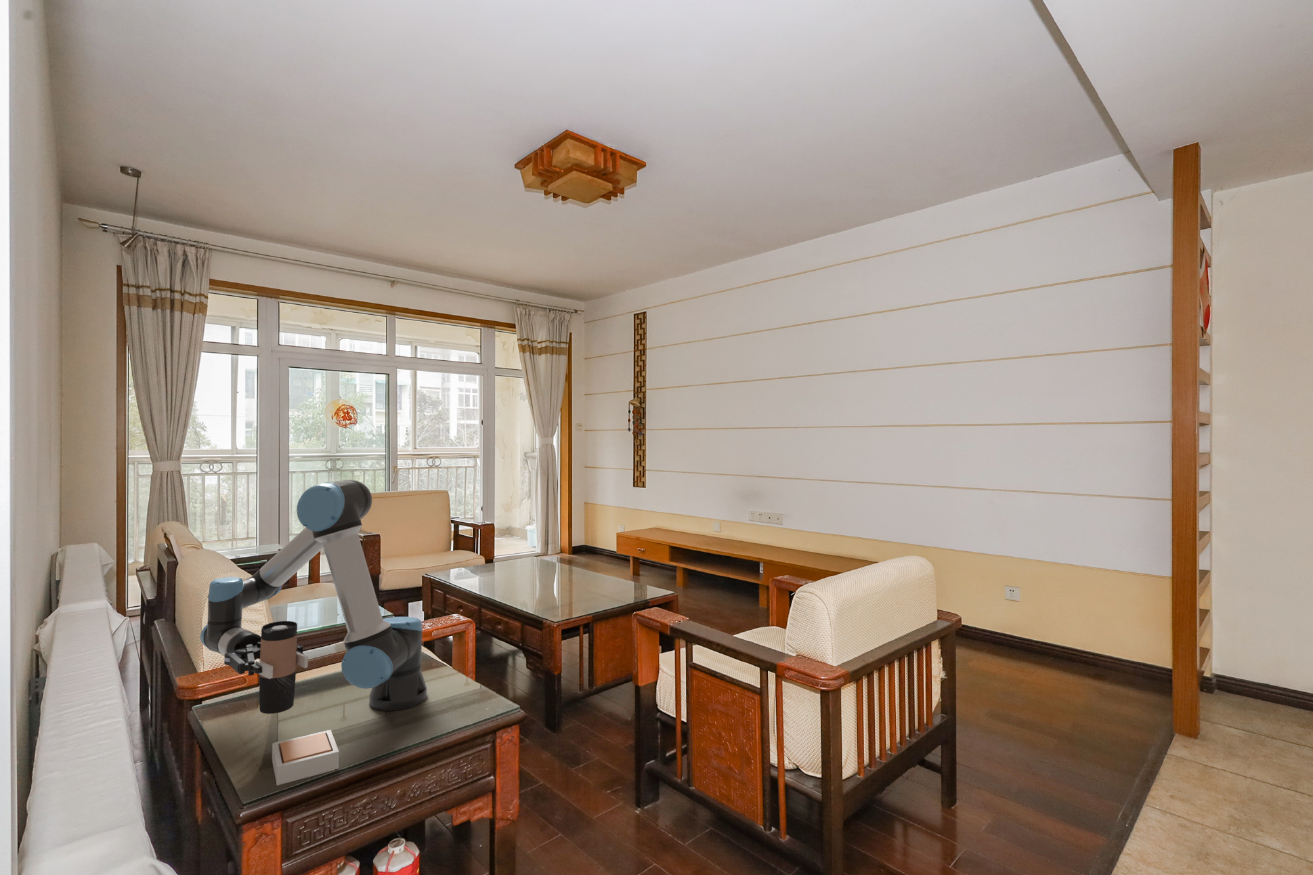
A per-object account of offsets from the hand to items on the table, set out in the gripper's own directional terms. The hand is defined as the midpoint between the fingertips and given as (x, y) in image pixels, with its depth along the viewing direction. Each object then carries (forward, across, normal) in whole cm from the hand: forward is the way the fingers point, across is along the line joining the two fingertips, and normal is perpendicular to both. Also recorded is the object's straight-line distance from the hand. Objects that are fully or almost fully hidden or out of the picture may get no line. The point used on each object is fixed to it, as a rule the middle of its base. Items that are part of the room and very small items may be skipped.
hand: (289, 667), depth 148 cm
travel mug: (-5, 0, -11) cm, 12 cm away
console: (+10, +1, -20) cm, 22 cm away
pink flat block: (+10, +1, -18) cm, 21 cm away
